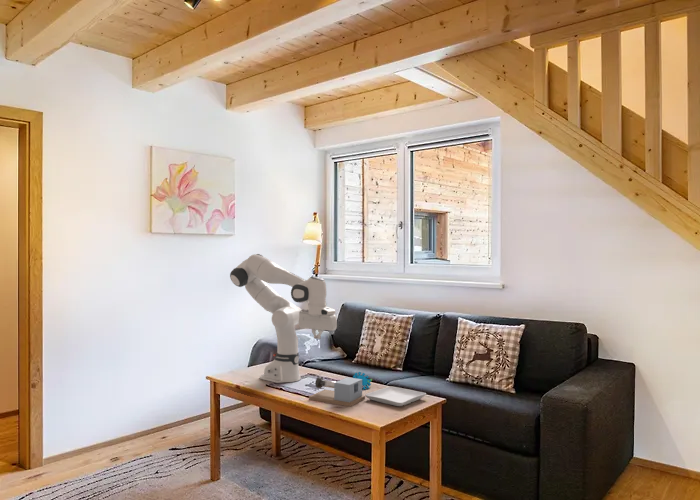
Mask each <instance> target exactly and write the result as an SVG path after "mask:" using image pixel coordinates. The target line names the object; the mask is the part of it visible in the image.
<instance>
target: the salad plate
mask: <svg viewBox="0 0 700 500" xmlns="http://www.w3.org/2000/svg"><path fill="white" fill-rule="evenodd" d="M426 395H427V393H426V392H423V391H418V390H413V389H408V388H402V387H398V386H392V385H390V386H387V387H384V388H379V389H377V390H374V391H373V390H372V391H371V392H367V393H365V394H364V396H365V398H367V399H369V400H370V401H374V402H376V403H377V402H378V403H381V404H385V405H390V406H395V407H404V406H406V405H409V404H411V402H412V403H414V402H416V401H417V400H420V399H422V398H424V397H425V396H426ZM403 405H404V406H403Z"/></svg>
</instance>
